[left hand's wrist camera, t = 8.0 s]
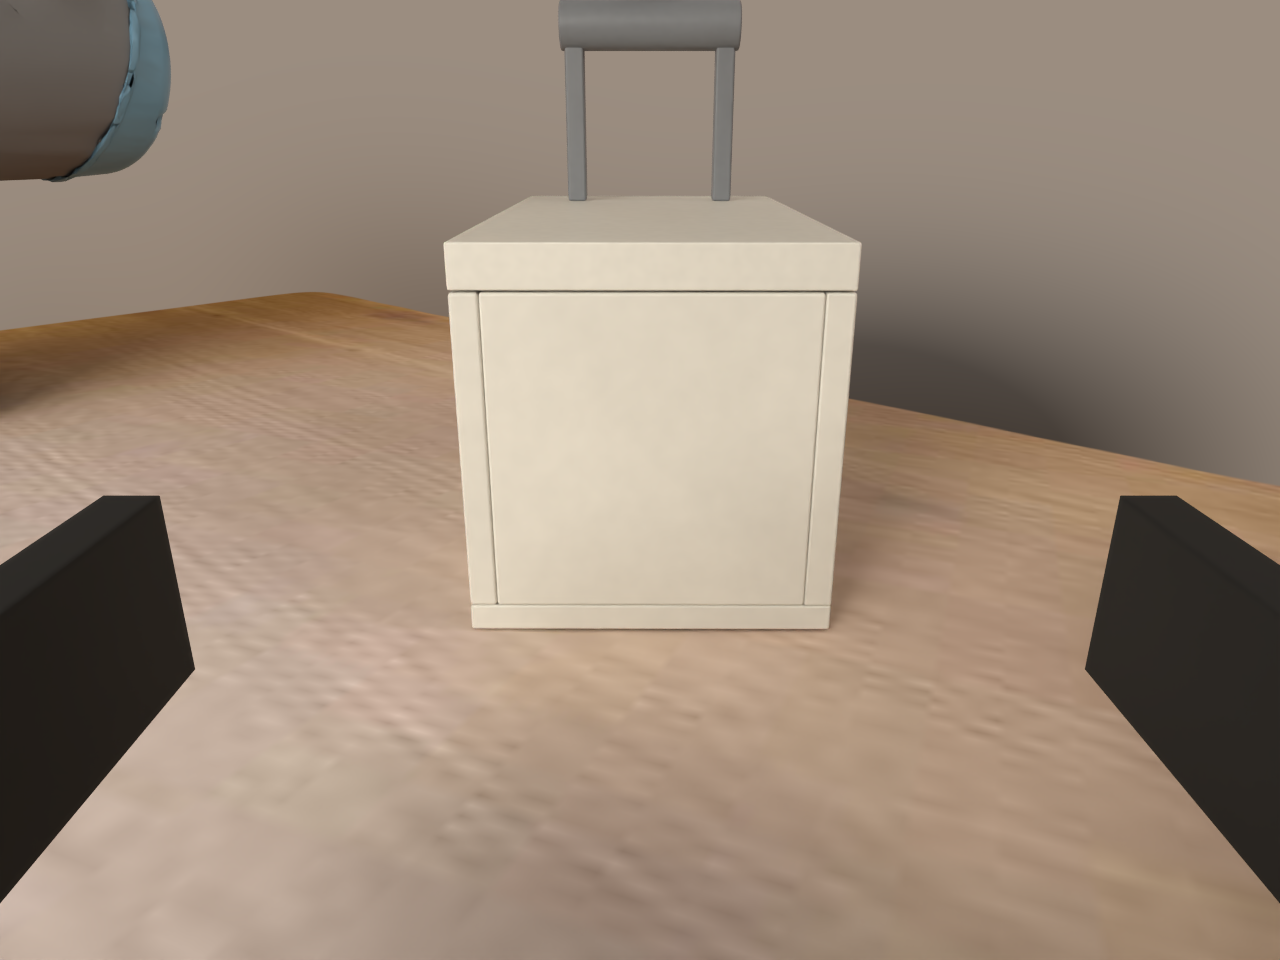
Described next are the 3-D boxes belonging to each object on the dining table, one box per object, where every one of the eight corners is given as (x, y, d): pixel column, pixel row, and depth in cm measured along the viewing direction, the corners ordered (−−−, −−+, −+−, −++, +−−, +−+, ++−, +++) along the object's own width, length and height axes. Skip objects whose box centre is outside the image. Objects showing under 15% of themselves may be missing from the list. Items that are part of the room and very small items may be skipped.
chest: (537, 440, 41) (529, 227, 38) (758, 440, 41) (768, 227, 38) (472, 629, 25) (446, 293, 22) (829, 630, 25) (857, 293, 22)
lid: (531, 224, 39) (522, 10, 36) (766, 224, 39) (776, 10, 36) (446, 290, 22) (417, -100, 19) (857, 290, 22) (891, -101, 19)
